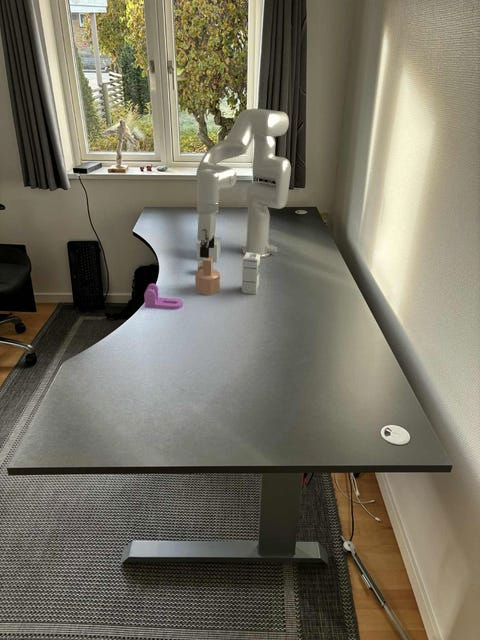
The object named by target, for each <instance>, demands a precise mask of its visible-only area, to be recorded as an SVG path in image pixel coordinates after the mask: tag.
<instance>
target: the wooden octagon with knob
mask: <svg viewBox="0 0 480 640" xmlns="http://www.w3.org/2000/svg"><path fill="white" fill-rule="evenodd" d="M202 262H203V269H201V270H198V269H197V271H196V272H195V278H194V282H195V283H194V285H195V292H197V294H200V295H204V296H212V295H215V294H218V293H219V292H220V290H221V273H220V272H219V271H218V270H217V269H214V268H213V267H214V266H213V263H214V262H213V258H210V257H209V258H204V259H203V261H202Z"/></svg>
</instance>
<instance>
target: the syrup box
mask: <svg viewBox="0 0 480 640" xmlns="http://www.w3.org/2000/svg"><path fill="white" fill-rule="evenodd" d="M243 255H244V256H243V258H242V269H241V270H242V271H241V273H242V274H241V276H242V277H241V293H243V294H249V295H257V294H258V290H259V288H260V273H261V272H260V270H261V269H260V268H261V258H260V254H258V253H247V252H246V254H243Z"/></svg>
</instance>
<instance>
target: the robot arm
mask: <svg viewBox="0 0 480 640" xmlns="http://www.w3.org/2000/svg"><path fill="white" fill-rule="evenodd" d="M289 125H290V120H289V116H288V114H287V113H286V112H284V111H279V110H271V109H265V108H264V109H262V108H249V109H244V110H242V111H241V112H240V113H239V114H238V115H237V118H236V119H235V122H234V123H233V125H232V127H231V129H230V131H229V132H228V134H227V135H226V138H224V139H223V140H221V141H219V142H218V143H216V144H215V145H213V146H212V147H211V148H209V149H208V150H207V151H205V153H204V155H203V157H202V159H200V162H199V164H198V166H197V169H196V174H195V175H196V180H197V181H196V183H197V184H196V188H197V189H196V191H197V193H196V194H197V195H196V198H197V199H196V203H197V204H196V205H197V206H196V211H197V212H198V219H197V220H198V222H197V238H196V240H197V241H198V240H200V239H201V242H200V257H202V258H209V248H214V238H213V237H215V233H216V225H217V213H219V210H220V206H219V205H220V191H222V190H223V191H224V190H229V189H231V188H232V187H233V186H235V184H236V182H237V178H238V177H237V176H238V175H237V172H236V171H235V169H233V168H232V167H230V166H225V165H219V163H220V162H223V161H225V160H228V159H233V158H236V157H239V156H242V155H244V154H246V152H248V149H249V147H250V145H251V143H252V141H253V145H254V147H253V157H252V175H253V176H254V177H256V178H258V179H262V180H268V181H273V182H275V183H271V182H265V181H258V180H256V181H251V182H250V183H249V184H248V186H247V187H246V201H247V223H246V224H247V225H246V241H245V242H246V245H245V246H244V247H242V254H243V255H245V254H246V252H247V253H258V254H260V259H261V258H266V257H268V256H270V255H271V252H275V253H277V252H278V247H277V246H276V245H274V244H273V245H271V244H270V242H269V231H270V218H271V216H270V215H271V214H270V211H269V209H268V208H271V209H272V208H273V209H283V208H285V206H286V204H287V202H288V198H289V192H290V191H289V190H290V189H289V188H290V180H291V172H292V167H291V163H290V160H289V159H287V158H286V157H282V156H276V139H275V137H281V136H283V135H285V133H286V132H287V131H288V129H289ZM205 238H206V239H205ZM205 241H206V242H205Z"/></svg>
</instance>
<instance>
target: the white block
mask: <svg viewBox="0 0 480 640" xmlns="http://www.w3.org/2000/svg"><path fill="white" fill-rule="evenodd" d="M213 238H214V248H209V257H210V258H213V263H217V262H218V260H219V258H220V257H221V245H222V244H221V242H222V241H221V236H220V237H218V236H214V237H213ZM205 239H206V238H205ZM200 242H201V239H200V240H198V239H197V242H196V244H195V245H196V261H199V262H203V259H204V258H202V257H200ZM205 242H206V241H205Z"/></svg>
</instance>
